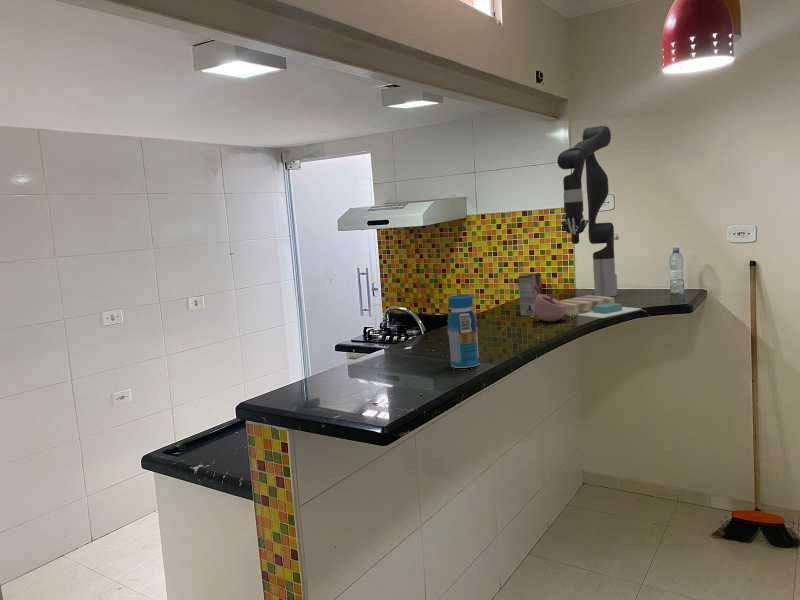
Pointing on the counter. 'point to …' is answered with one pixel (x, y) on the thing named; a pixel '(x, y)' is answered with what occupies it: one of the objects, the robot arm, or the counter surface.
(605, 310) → the teal tile
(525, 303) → the coffee box
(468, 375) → the counter surface
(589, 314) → the white flat panel
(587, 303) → the oak deck
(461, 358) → the beverage bottle
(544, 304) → the mortar and pestle
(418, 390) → the counter surface
